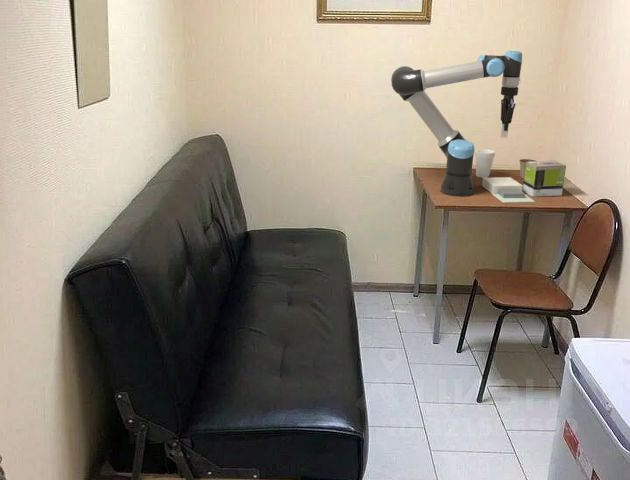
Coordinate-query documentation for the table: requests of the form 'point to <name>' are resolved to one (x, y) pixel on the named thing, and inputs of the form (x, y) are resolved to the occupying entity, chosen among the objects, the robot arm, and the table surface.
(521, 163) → the flower pot
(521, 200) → the mat
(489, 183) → the plate
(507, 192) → the rectangular block
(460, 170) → the robot arm
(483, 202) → the table surface
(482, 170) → the foam cup
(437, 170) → the table surface
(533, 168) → the tea box
